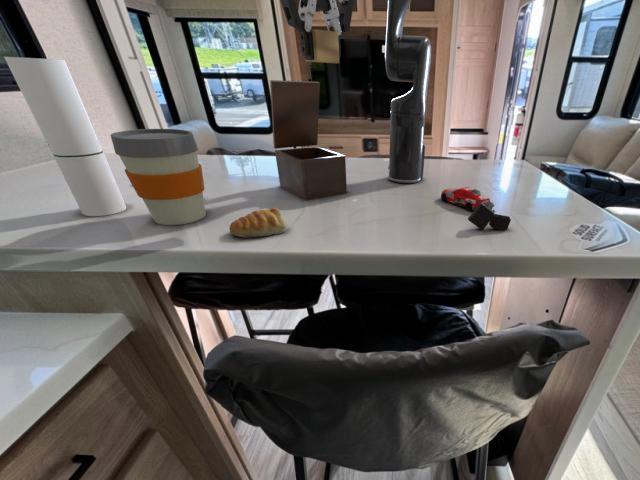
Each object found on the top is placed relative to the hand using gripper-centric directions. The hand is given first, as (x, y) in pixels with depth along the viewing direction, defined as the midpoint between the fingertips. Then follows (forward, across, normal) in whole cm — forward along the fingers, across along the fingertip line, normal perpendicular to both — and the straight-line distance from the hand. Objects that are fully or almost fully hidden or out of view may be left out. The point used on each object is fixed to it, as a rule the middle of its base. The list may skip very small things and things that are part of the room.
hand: (322, 60), depth 60 cm
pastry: (+27, -18, -4) cm, 33 cm away
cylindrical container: (+27, -39, +24) cm, 53 cm away
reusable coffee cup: (+27, -28, +12) cm, 41 cm away
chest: (+27, +3, +14) cm, 31 cm away
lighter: (+27, +19, -29) cm, 44 cm away
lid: (+11, +3, +19) cm, 22 cm away
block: (0, 0, 0) cm, 0 cm away
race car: (+27, +27, -16) cm, 41 cm away
